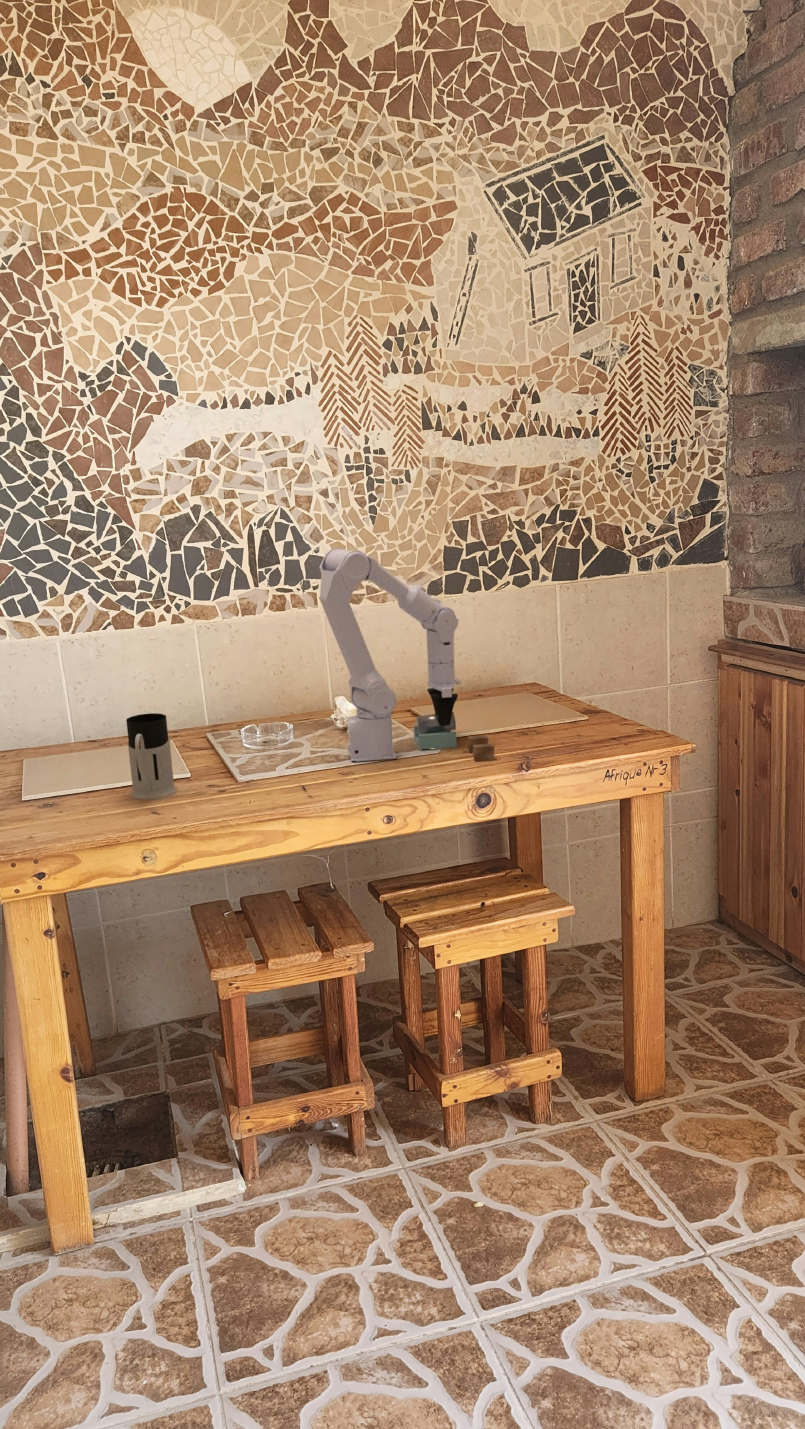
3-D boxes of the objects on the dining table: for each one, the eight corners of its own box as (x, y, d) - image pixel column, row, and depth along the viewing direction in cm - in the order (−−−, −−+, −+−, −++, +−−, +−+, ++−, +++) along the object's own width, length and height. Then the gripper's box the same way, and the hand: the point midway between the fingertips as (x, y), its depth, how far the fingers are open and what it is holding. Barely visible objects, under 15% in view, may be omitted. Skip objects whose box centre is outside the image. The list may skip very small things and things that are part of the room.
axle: (420, 737, 234) (418, 719, 233) (417, 731, 238) (415, 714, 237) (456, 732, 235) (454, 714, 234) (453, 726, 238) (451, 709, 237)
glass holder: (180, 784, 215) (173, 711, 212) (167, 807, 202) (159, 729, 198) (136, 786, 215) (128, 713, 212) (120, 809, 201) (111, 732, 198)
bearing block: (475, 761, 221) (474, 747, 221) (468, 750, 230) (467, 736, 229) (494, 760, 222) (494, 746, 221) (486, 748, 230) (486, 735, 230)
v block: (419, 750, 231) (419, 736, 231) (414, 738, 241) (413, 724, 240) (456, 747, 232) (456, 733, 231) (449, 736, 242) (449, 722, 241)
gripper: (464, 666, 226) (467, 729, 229) (454, 654, 240) (456, 713, 243) (431, 668, 225) (434, 731, 229) (422, 656, 239) (425, 715, 243)
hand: (443, 722), depth 236 cm, fingers closed on axle, 4 cm apart
